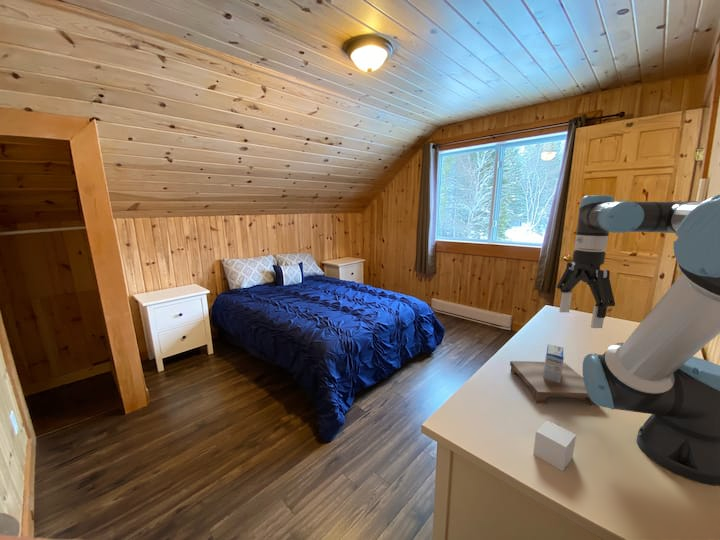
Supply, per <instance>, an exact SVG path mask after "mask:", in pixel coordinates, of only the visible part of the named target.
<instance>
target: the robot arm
mask: <svg viewBox="0 0 720 540" xmlns="http://www.w3.org/2000/svg"><path fill="white" fill-rule="evenodd" d="M579 203H580V204H579V207H578V218H577V225H576V233H575V241H574V246H573V247H574V248H575V249H574V250H573V253H572V259H571V260H572V262H567V263H566V267H565V271H564V272H563V274H562V276H561V277H560V280H559V282H558V283H557V285H556V288H557V289H559V290H560V292H561V295H560V306H559V312H560V313H570V308H571V303H572V302H571V301H572V296H573V293H572V292H573V289H574V288H575V286H577V285H578V284H579V282H581V281H582V283H583V282H584V283H586V285H588V286H589V288H590V291H591V293H592V296H593V298H594V301H595V303H596V304H594V305H593V309H592V318H591V322H590V323H591V324H590V328H592V329H603V324H604V320H605V318H606V316H607V310H608V307H615V306H616V303H615V299H614V298H615V297H614V294H613V288H612V284H611V280H610V277H611V276H610V275H611V272H610V269H606V270H604V269H601V266H602V265H604V264H605V259H606V250H607V248H608V240H609V235H610V233H613V234H616V233H617V234H623V233H664V234H665V233H666V234H675V236H676V237H677V239H676V240H675V241H673V254H674V257H675V259H676V261H677V262H676V265H677V268H678V270H679V273H680V275H679V276H678V278H677V279H676V280H675V281H674V283H672V284H671V286H670V287H669V289H668V290H667V291H666V292H665V293H664V294H663V296H661V298H660V299H659V301H658V302H657V303H656V304H655V305H654V306H653V307H652V309H651V310H650V311H649V312H648V313H647V315H646V316H645V317H644V318H643V320H642V321H641V322H640V323H639V324H638V326H637V327H636V328H635V329H634V330H633V332H632V333H631V334H630V335H629V336H628V337H627V339H625V341H624V342H617V343H615V344H613V345H612V344H611V345H610V346H609V347H608V348H607V349H606V350H605V352H604V353H603V354H597V353H587V354H586V355H585V356H584V358H583V361H582V377H583V380H584V385H585V388H586V391H587V394H588V396H589V397H590V399H591V400H592V401H593V402H594V403H595V404H596V405H595V406H598V407H601V408H607V409H610V410H614V411H615V410H618V411H626V412H632V413H633V412H634V413H640V414H641V413H642V414H650V416H649V417H648V418H647V420H646V421H645V422H644V423H643V425H642V426H640V428H639V429H638V431H637V435H636V443H637V446H638V447H639V448H640V450H641V451H642V452H643V453H644V454H645V455H646V456H647V457H648V458H650V460H652V461H654V462H655V463H657V464H658V465H660V466H662V467H663V468H665V469H666V470H668V471H670V472H672V473H674V474H677V475H679V476H680V477H683V478H685V479H688V480H691V481H692V482H696V483H701V484H705V485H708V486H709V485H710V486H720V365H719V364H717V363H714V362H711V361H709V360H707V359H703V358H700V357H697V356H695V355H696V354H697V353H699V352H700V351H701V350H702V349H704V347H705V346H707V345H708V344H709V343H710V342H711V341H712V340H714V339H715V338H716V337H717V336H718V335H720V194H717V195H713V196H711V197H710V198H707V199H705V200H704V201H698V200H697V201H696V200H685V201H630V200H615V198H614V196H613V195H610V194H609V195H608V194H606V195H605V194H601V195H600V194H597V195H594V194H593V195H585V196H583V197H581V199H580V202H579Z"/></svg>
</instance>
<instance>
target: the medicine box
mask: <svg viewBox="0 0 720 540" xmlns="http://www.w3.org/2000/svg"><path fill="white" fill-rule="evenodd" d="M564 359H565V357H564V347H562V346H558V345H555V344H547V346H546V354H545V361H544V362H545V365H544V376H543V378H544V379H546V380H550V381H553V382H557V383H560V379H561V373H562V366H563V362H564Z"/></svg>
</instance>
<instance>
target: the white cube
mask: <svg viewBox="0 0 720 540" xmlns="http://www.w3.org/2000/svg"><path fill="white" fill-rule="evenodd" d="M576 439H577V434H575V433H574V432H571V431H570V430H567V429H565V428H563V427H561V426H559V425H557V424H555V423H553V422H552V421H549V420H546V421H545V422H544V423H543V424H542V425H541V426H540V427H539V428H538V429H537V430H536V432H535V437H534V445H533V455H534V456H536V457H538V458H540V459H542V460H543V461H545V462H546V463H548V464H549V465H552V466H554V467H555V468H557V469H558V470H560V471H562V472H563V471H564V470H565V469H566V467H567V466H568V464H569V463H570V462H571V460H572V459H573V457H574V452H575V451H574V450H575V445H576Z"/></svg>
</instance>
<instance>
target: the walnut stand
mask: <svg viewBox="0 0 720 540" xmlns="http://www.w3.org/2000/svg"><path fill="white" fill-rule="evenodd" d="M544 365H545V361H526V360H523V361H522V360H519V361H518V360H511V361H510V362H509V366H510V373H511V372H512V373H511V375H512V376H513V375H519V376H518V377H520V378H521V380H523V382H524V383H525V384H526V385H527V386H528V387H529V389H530V390H531V391H532V400H533V401H534V402H535V403H536V404H539V405H541V404H542V405H543V404H544V405H546V401H547V397H548V398H549V397H550V398H575V399H576V398H579V399H580V398H581V399H582V398H583V399H584V401H585V402H586V403H587V404H588V405H589V406H597V405H596V404H595V403H594V402H593V401H592V400H591V399H590V397H589V396H588V394H587V391H586V388H585V385H584V380H583V375H581V374H579V372H577V371H575V370H574V369H573V368H572V367H571V366H570V365H568V364H567V363H565V362H564V361H563V366H562V373H561V379H560V383H557V382H553V381H550V380H546V379H544V378H543V376H544Z"/></svg>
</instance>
